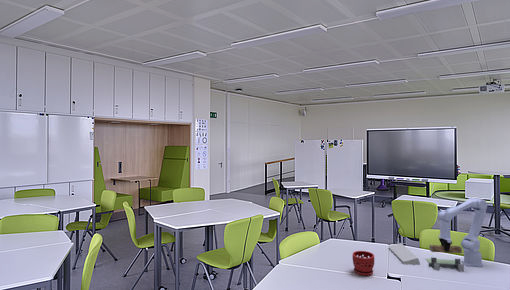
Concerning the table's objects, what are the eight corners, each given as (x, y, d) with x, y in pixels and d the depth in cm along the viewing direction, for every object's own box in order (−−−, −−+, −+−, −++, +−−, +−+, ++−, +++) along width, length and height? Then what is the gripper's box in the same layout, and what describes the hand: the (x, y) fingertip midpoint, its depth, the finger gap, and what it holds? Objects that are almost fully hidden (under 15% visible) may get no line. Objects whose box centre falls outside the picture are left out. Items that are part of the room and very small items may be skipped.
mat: (457, 260, 221) (457, 260, 221) (462, 265, 212) (462, 264, 212) (425, 259, 225) (425, 258, 225) (429, 263, 216) (429, 263, 216)
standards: (462, 268, 207) (462, 259, 207) (466, 271, 201) (466, 262, 202) (428, 266, 211) (428, 257, 212) (431, 269, 206) (431, 260, 206)
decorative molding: (405, 268, 216) (420, 265, 215) (403, 261, 216) (418, 258, 215) (389, 252, 250) (402, 248, 249) (388, 246, 250) (400, 242, 249)
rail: (459, 251, 212) (459, 246, 212) (461, 253, 208) (461, 247, 208) (429, 250, 215) (429, 244, 215) (431, 252, 212) (431, 246, 212)
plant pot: (348, 270, 206) (348, 252, 206) (365, 267, 210) (364, 249, 211) (361, 278, 194) (361, 258, 194) (379, 275, 198) (379, 255, 198)
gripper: (434, 227, 220) (435, 246, 220) (442, 232, 206) (442, 253, 205) (445, 227, 218) (446, 247, 218) (454, 233, 204) (455, 254, 204)
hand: (445, 250), depth 212 cm, fingers closed on rail, 3 cm apart
